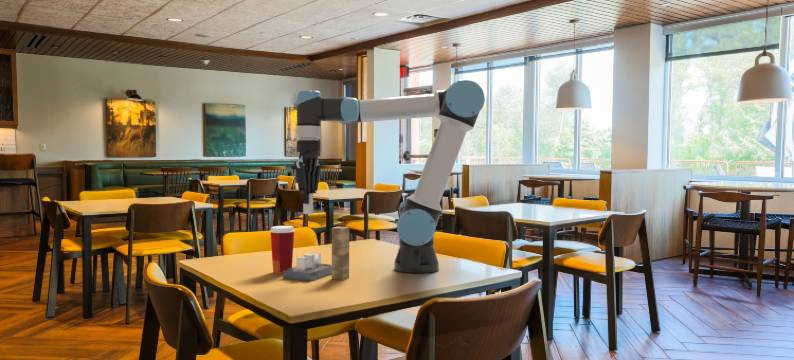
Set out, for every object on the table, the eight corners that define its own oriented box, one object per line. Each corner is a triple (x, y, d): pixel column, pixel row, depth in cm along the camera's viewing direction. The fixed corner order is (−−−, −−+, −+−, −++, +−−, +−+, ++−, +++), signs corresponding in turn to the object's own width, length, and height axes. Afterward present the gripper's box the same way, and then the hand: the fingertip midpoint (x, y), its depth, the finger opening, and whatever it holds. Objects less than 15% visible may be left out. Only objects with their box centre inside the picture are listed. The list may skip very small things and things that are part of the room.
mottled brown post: (349, 277, 185) (349, 227, 185) (342, 280, 182) (343, 228, 181) (338, 276, 187) (338, 226, 186) (331, 278, 183) (331, 227, 183)
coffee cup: (297, 270, 197) (297, 225, 196) (291, 275, 189) (291, 228, 188) (273, 269, 198) (273, 225, 197) (265, 274, 189) (265, 228, 189)
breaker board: (333, 273, 192) (333, 253, 192) (310, 281, 179) (310, 260, 179) (307, 270, 196) (307, 251, 196) (283, 278, 183) (283, 257, 183)
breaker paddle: (314, 267, 188) (314, 254, 188) (311, 267, 186) (311, 255, 186) (306, 266, 189) (306, 253, 189) (303, 267, 188) (303, 254, 187)
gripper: (309, 140, 193) (309, 211, 194) (286, 139, 182) (286, 214, 183) (329, 140, 190) (328, 212, 191) (307, 139, 179) (306, 216, 179)
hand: (308, 213), depth 187 cm, fingers closed
